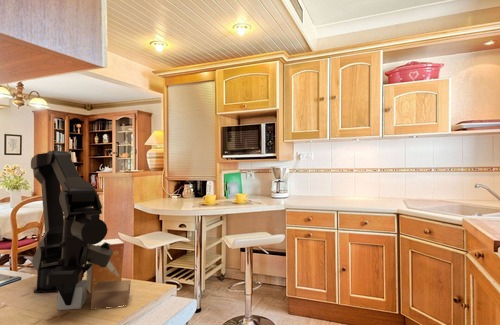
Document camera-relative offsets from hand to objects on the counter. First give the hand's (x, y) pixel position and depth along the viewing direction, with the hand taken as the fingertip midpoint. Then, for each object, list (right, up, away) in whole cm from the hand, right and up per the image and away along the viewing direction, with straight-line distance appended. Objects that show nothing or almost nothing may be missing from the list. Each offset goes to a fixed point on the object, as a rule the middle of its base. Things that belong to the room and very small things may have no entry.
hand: (71, 300), depth 72 cm
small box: (+2, -2, +11) cm, 11 cm away
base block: (+9, -2, +3) cm, 9 cm away
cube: (0, -1, 0) cm, 1 cm away
